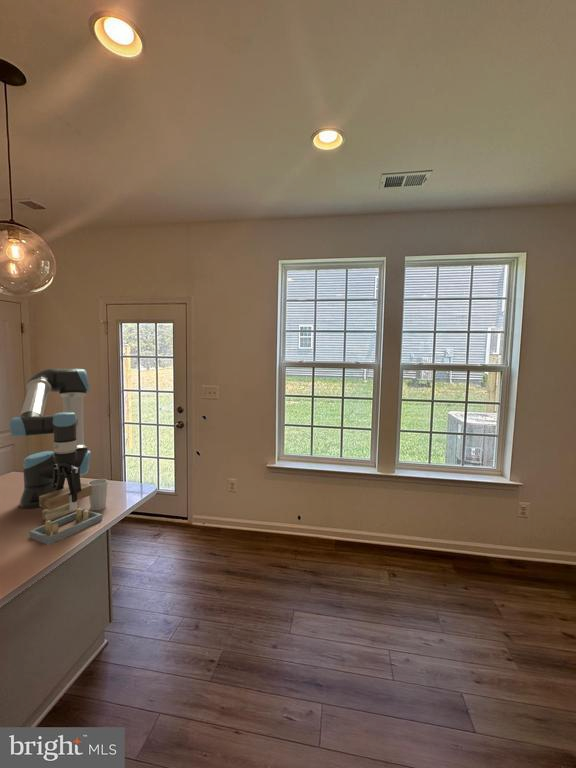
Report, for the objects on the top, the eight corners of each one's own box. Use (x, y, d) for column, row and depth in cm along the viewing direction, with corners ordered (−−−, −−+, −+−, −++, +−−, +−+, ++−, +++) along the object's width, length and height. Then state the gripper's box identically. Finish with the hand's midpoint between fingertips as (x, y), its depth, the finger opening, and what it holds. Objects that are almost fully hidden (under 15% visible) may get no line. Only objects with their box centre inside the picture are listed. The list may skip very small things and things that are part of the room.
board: (39, 506, 124) (39, 496, 123) (81, 492, 138) (80, 482, 138) (50, 509, 121) (50, 499, 121) (91, 494, 135) (91, 485, 135)
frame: (29, 537, 123) (29, 524, 123) (83, 514, 143) (83, 503, 142) (48, 544, 118) (48, 531, 118) (102, 520, 138) (101, 508, 137)
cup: (93, 503, 153) (93, 478, 153) (111, 503, 154) (110, 478, 153) (84, 511, 145) (83, 485, 145) (103, 510, 146) (102, 484, 145)
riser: (42, 519, 137) (42, 510, 137) (71, 508, 148) (71, 499, 148) (48, 521, 136) (48, 512, 136) (76, 509, 147) (76, 501, 146)
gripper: (40, 450, 129) (42, 506, 130) (72, 456, 121) (73, 516, 122) (59, 446, 136) (61, 499, 137) (91, 451, 128) (92, 508, 129)
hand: (67, 507), depth 130 cm, fingers closed on board, 7 cm apart
